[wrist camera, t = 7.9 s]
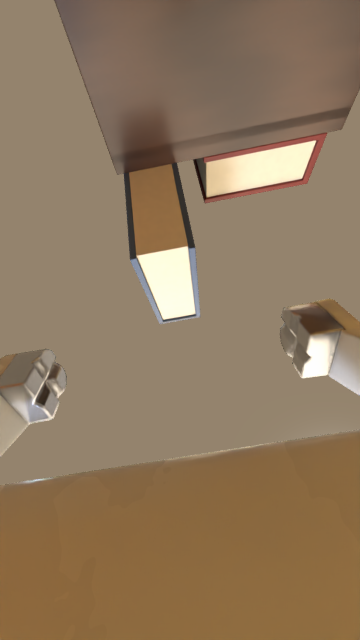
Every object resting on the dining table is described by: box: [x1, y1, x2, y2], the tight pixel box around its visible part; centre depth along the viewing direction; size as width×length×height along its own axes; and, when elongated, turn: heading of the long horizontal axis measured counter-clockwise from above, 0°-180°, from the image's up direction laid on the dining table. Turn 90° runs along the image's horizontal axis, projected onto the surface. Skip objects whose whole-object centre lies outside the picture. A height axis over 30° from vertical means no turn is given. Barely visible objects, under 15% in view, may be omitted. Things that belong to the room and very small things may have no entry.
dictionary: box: [193, 133, 327, 203], centre depth 22 cm, size 9×12×4 cm
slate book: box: [124, 163, 200, 324], centre depth 23 cm, size 4×20×10 cm, turn 172°
